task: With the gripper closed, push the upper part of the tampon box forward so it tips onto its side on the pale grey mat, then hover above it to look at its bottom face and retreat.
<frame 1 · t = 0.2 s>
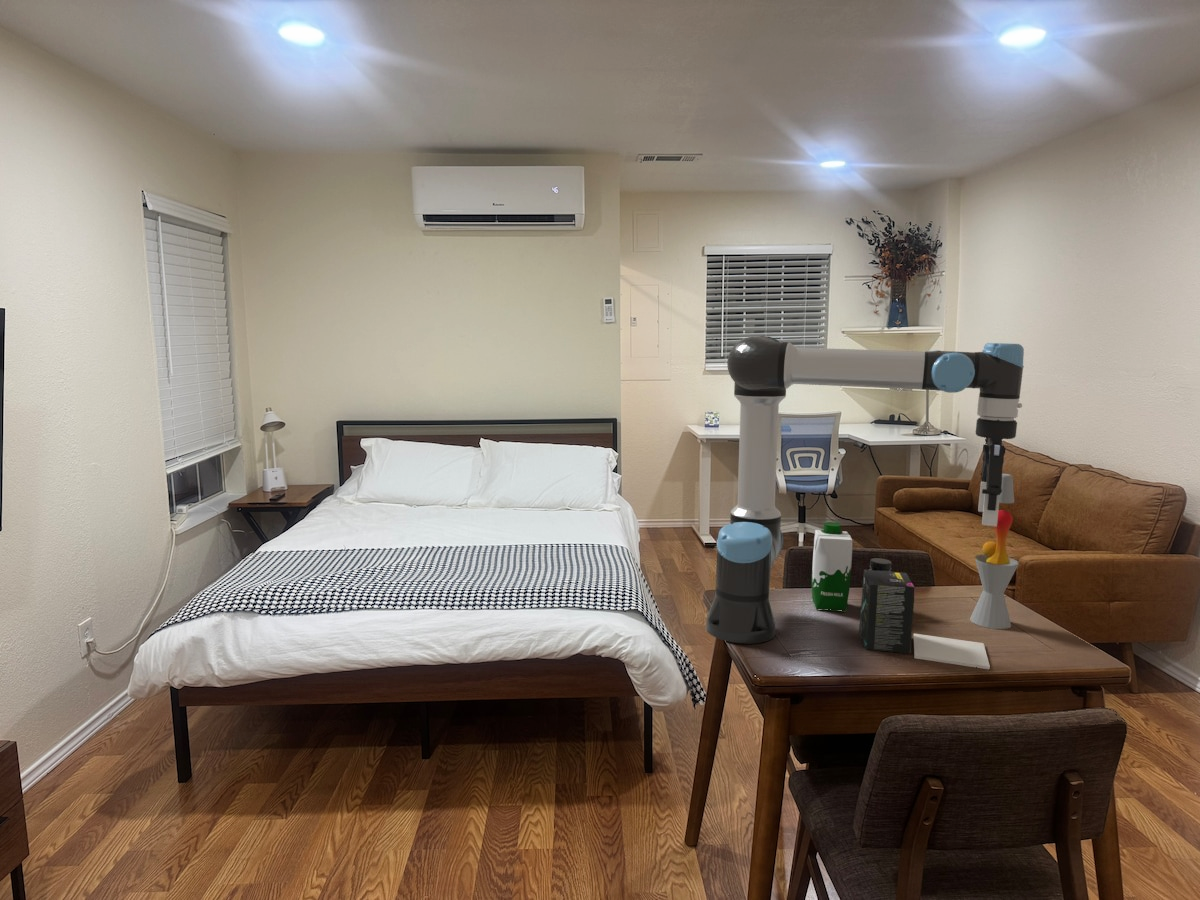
hand: (987, 518, 166), 28 cm above the table, tool pointing down, fingers open, 13 cm apart
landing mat: (949, 651, 166), on the table
tampon box: (883, 643, 170), on the table
milk carton: (828, 606, 192), on the table
lava lamp: (990, 623, 184), on the table
supplement bottle: (876, 609, 191), on the table
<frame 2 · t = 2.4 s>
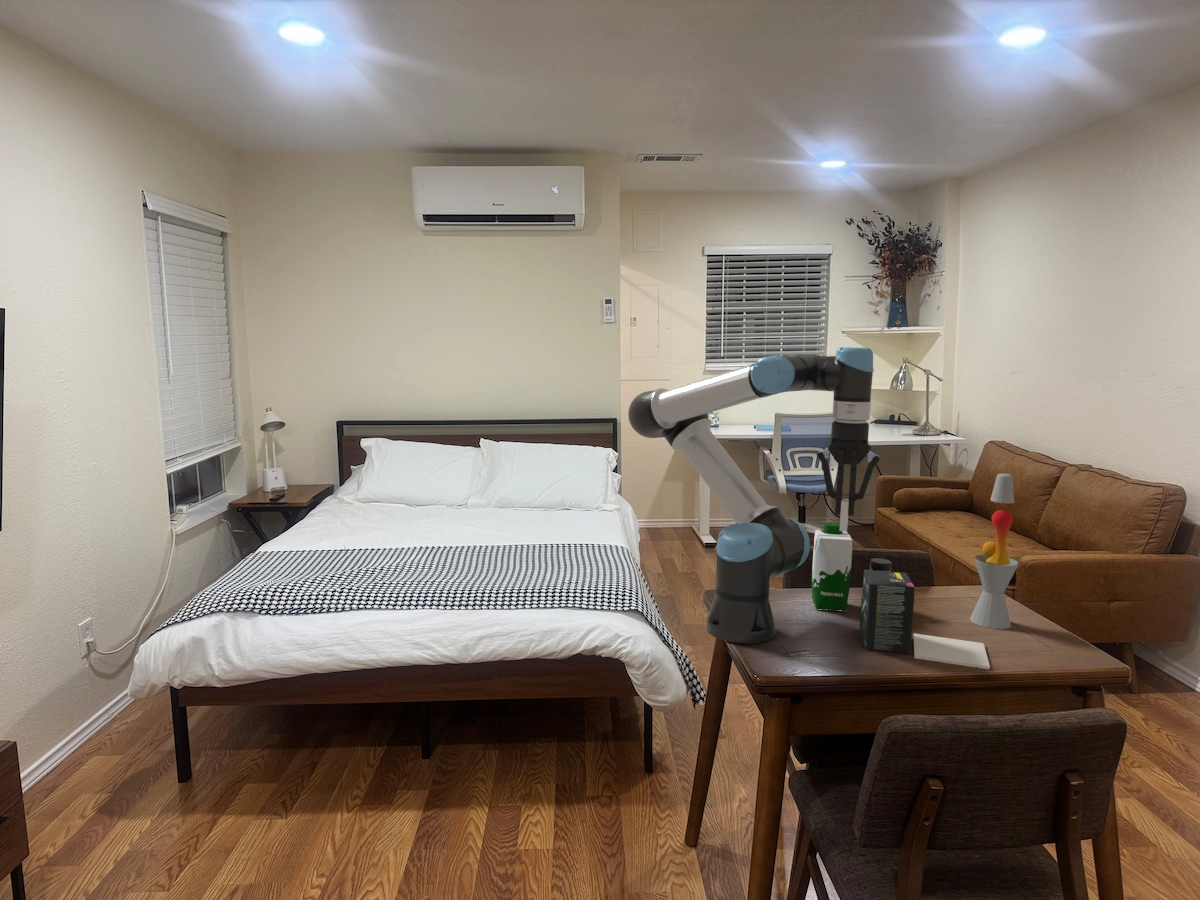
hand: (843, 529, 170), 24 cm above the table, tool pointing down, fingers closed
nothing on the table moved.
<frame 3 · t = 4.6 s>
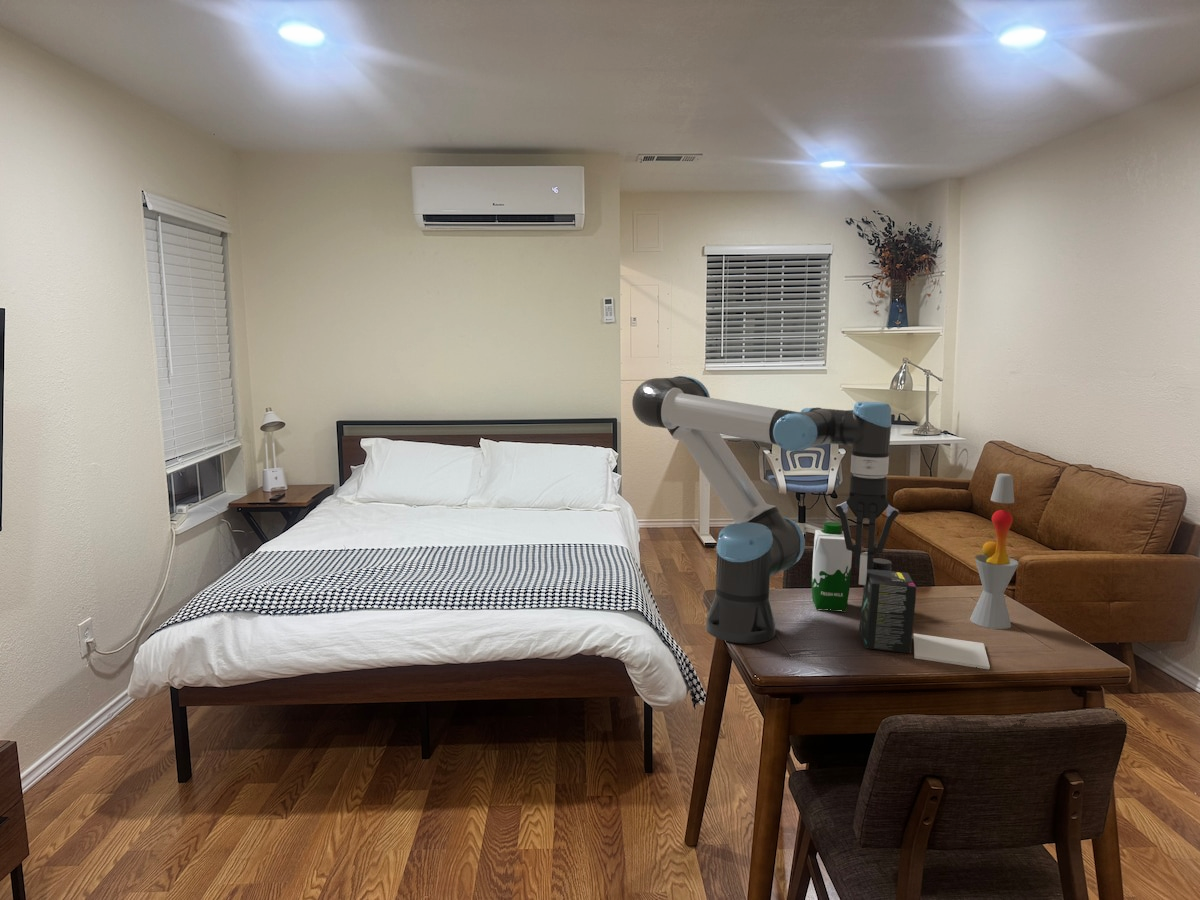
hand: (862, 582, 170), 13 cm above the table, tool pointing down, fingers closed
tampon box: (883, 642, 170), on the table, touching gripper
everything else where it was.
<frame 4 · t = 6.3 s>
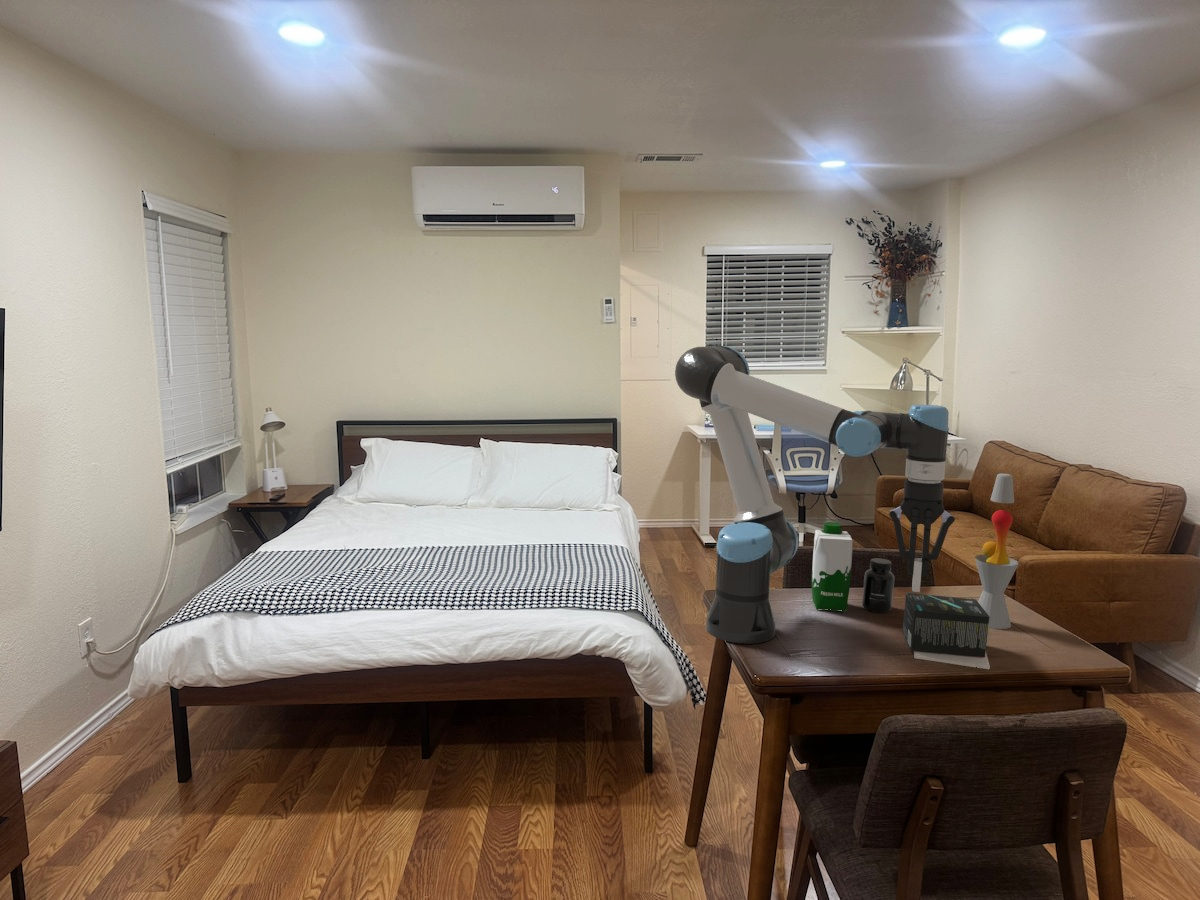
hand: (915, 589, 167), 13 cm above the table, tool pointing down, fingers closed
tampon box: (906, 620, 169), point 5 cm above the table, touching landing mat
everything else where it was.
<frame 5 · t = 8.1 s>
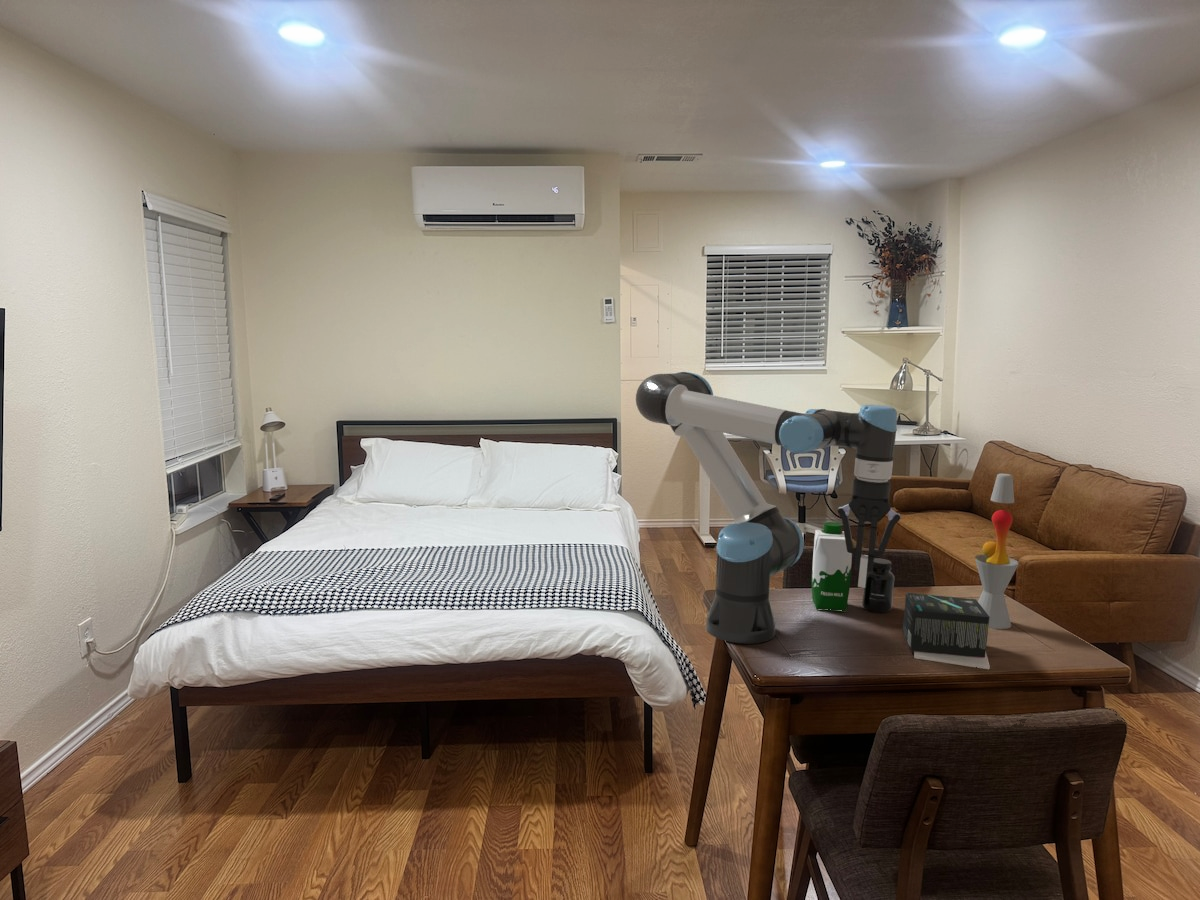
hand: (861, 585, 171), 12 cm above the table, tool pointing down, fingers closed
nothing on the table moved.
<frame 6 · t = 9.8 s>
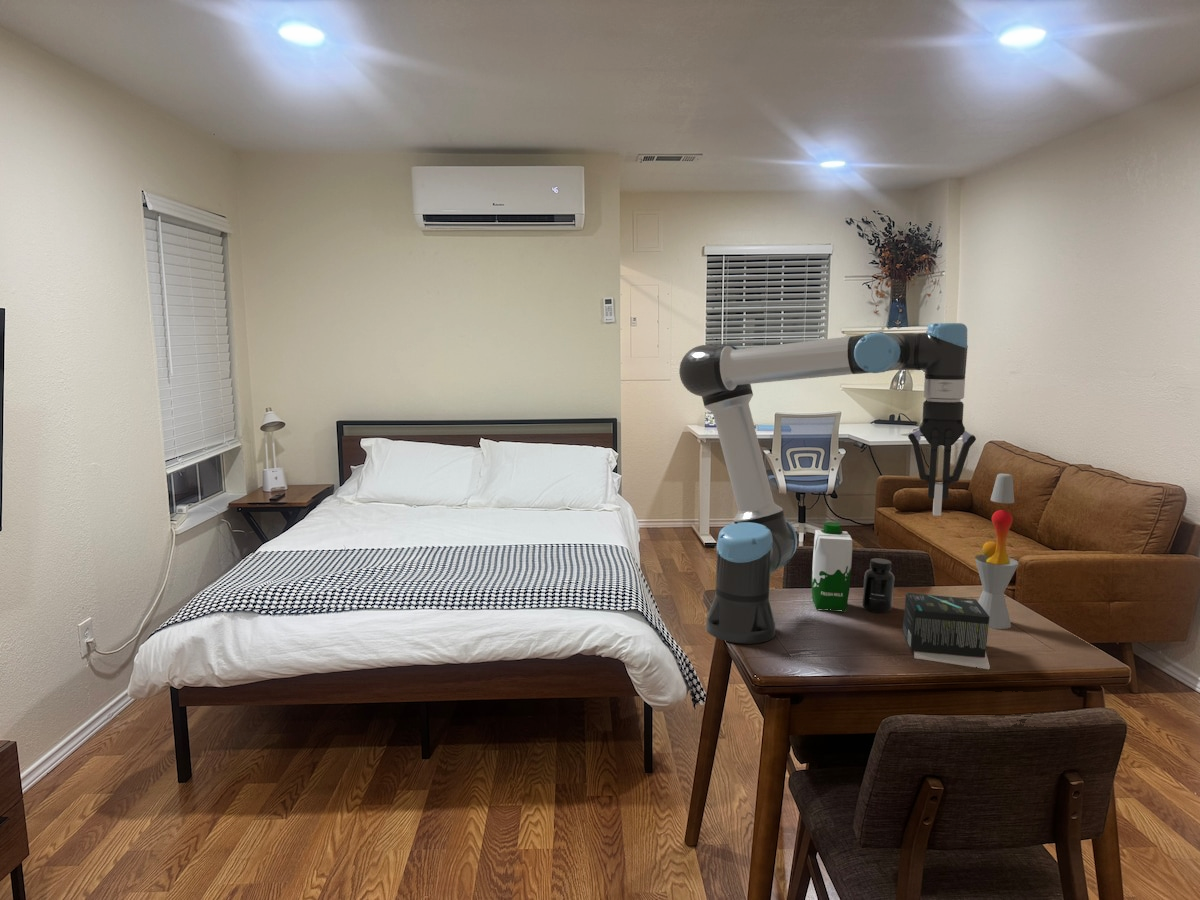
hand: (936, 514, 163), 29 cm above the table, tool pointing down, fingers closed
nothing on the table moved.
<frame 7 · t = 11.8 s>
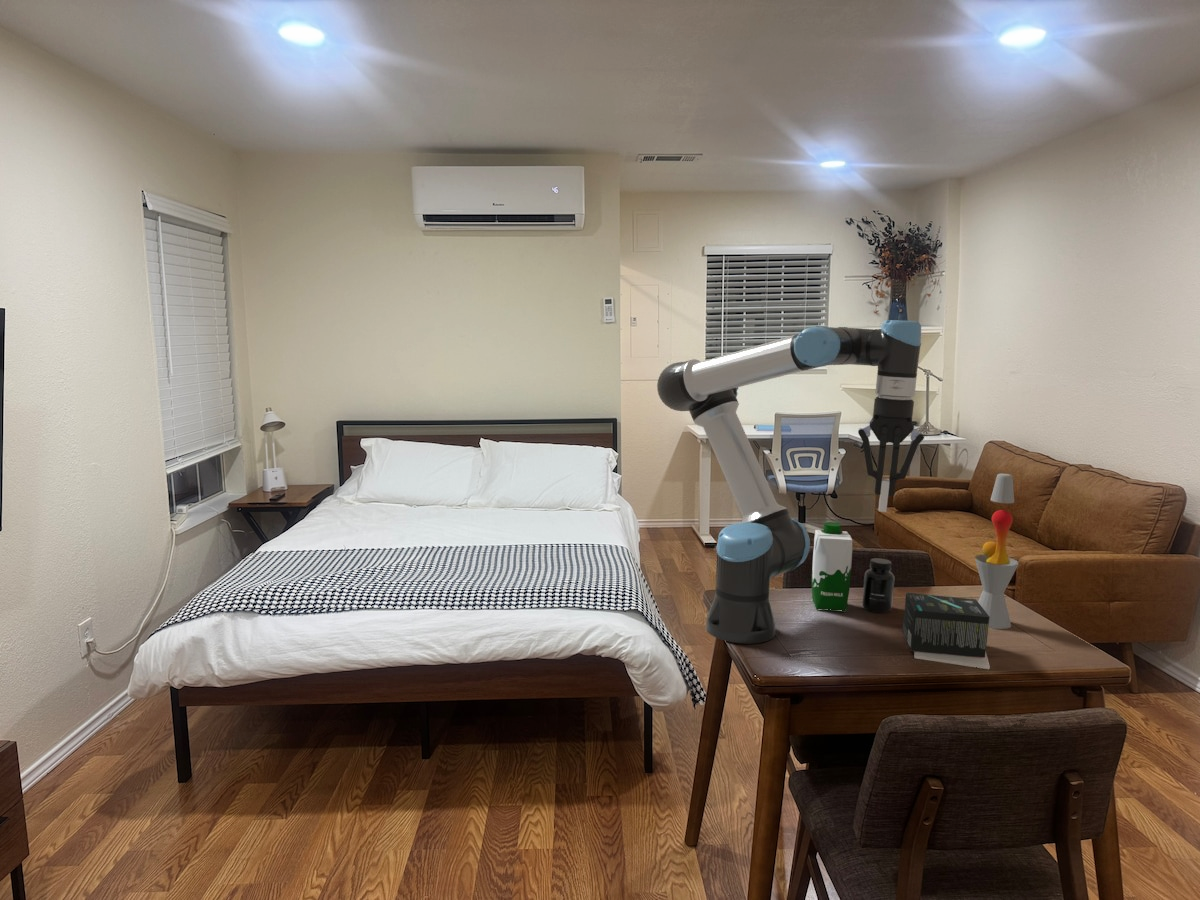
hand: (882, 510, 164), 30 cm above the table, tool pointing down, fingers closed
nothing on the table moved.
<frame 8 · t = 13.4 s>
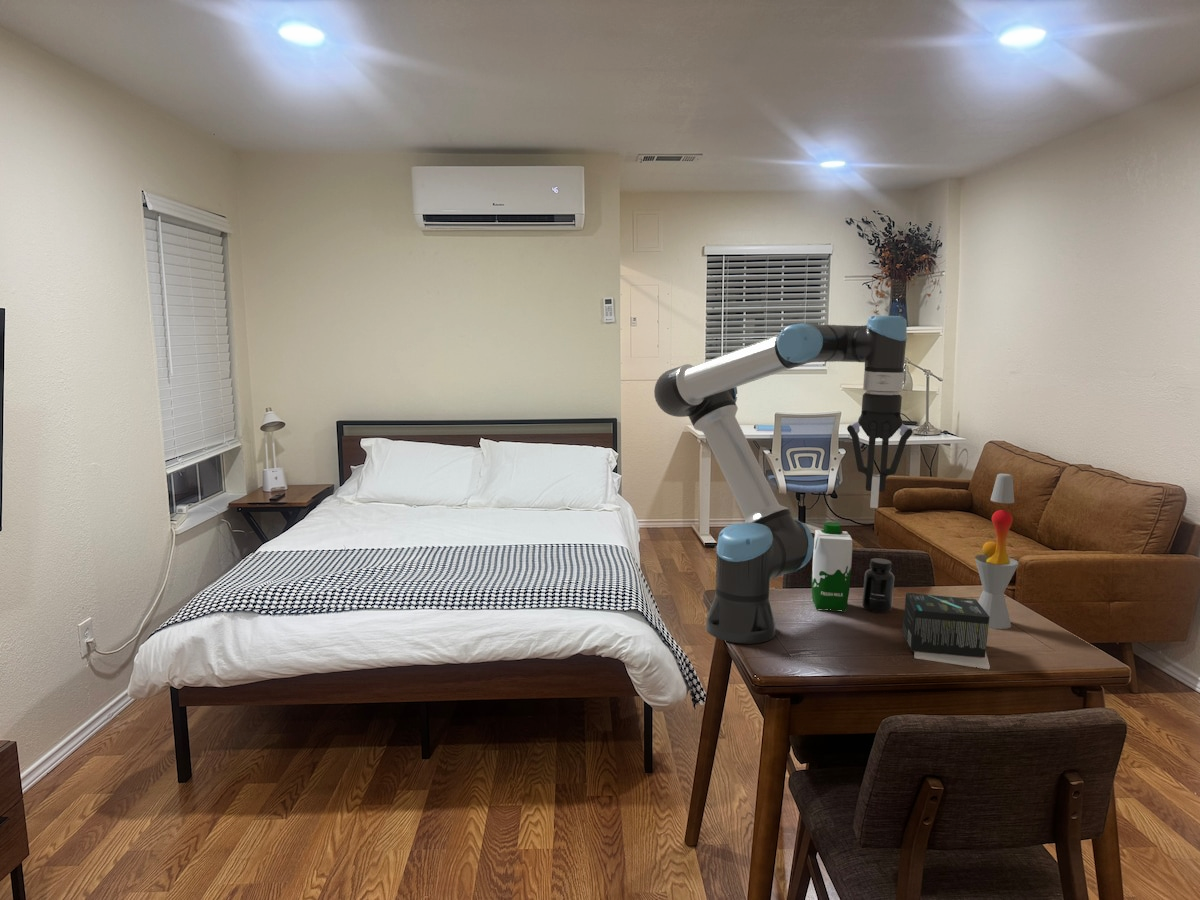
hand: (874, 506, 163), 30 cm above the table, tool pointing down, fingers closed
nothing on the table moved.
at the end: tampon box tilted 91°; tampon box inside the target area (7.3 cm from its centre), point 5.3 cm above the table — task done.
